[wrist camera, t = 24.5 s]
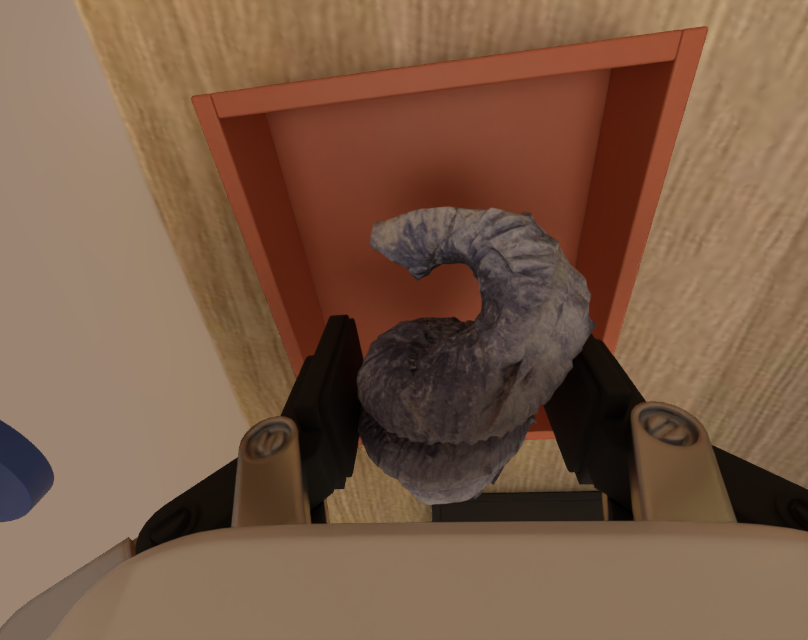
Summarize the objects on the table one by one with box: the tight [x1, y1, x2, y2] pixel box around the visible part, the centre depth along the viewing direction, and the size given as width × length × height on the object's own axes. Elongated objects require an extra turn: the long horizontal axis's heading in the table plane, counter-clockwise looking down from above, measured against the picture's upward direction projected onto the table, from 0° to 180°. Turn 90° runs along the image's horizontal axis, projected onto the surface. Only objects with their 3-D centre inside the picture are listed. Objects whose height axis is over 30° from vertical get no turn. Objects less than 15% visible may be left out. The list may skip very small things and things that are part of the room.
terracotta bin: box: [191, 26, 708, 445], centre depth 15 cm, size 13×15×4 cm
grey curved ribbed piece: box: [357, 206, 596, 505], centre depth 10 cm, size 5×5×10 cm
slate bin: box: [432, 492, 603, 522], centre depth 28 cm, size 13×13×4 cm
